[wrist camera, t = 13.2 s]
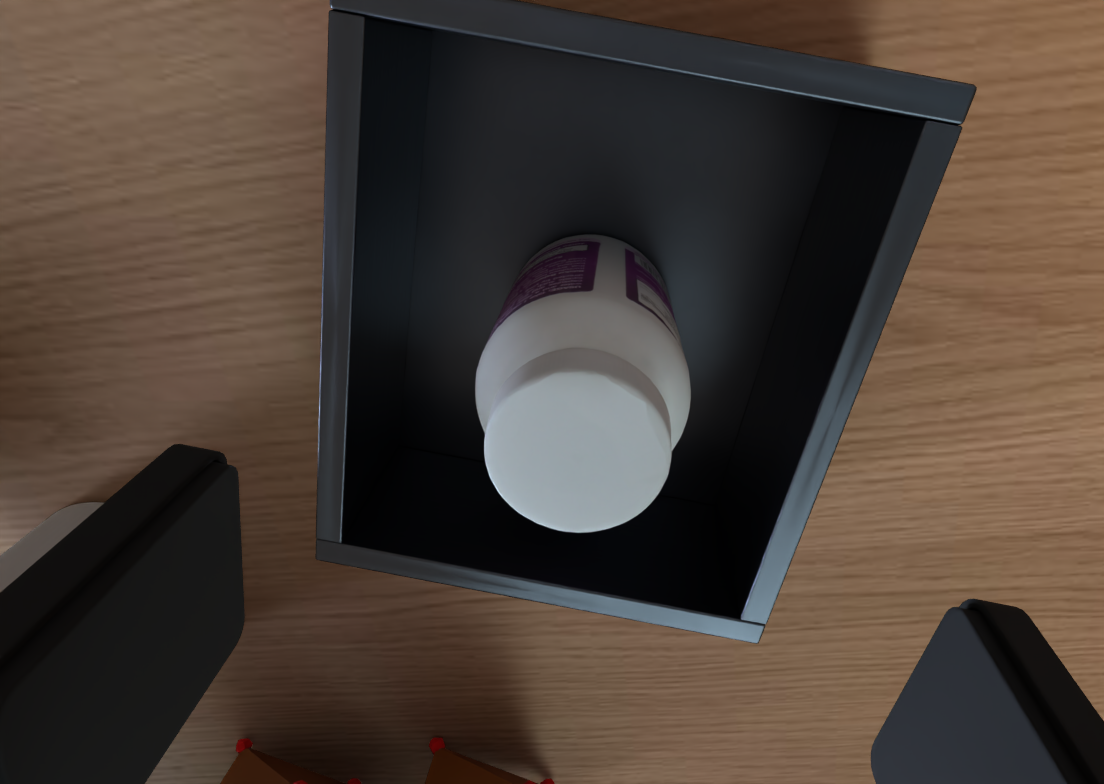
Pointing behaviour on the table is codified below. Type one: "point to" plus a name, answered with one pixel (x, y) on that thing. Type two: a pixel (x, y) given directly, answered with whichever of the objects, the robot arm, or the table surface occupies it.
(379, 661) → the table surface
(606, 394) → the pill bottle
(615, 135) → the open box
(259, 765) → the molecular model
